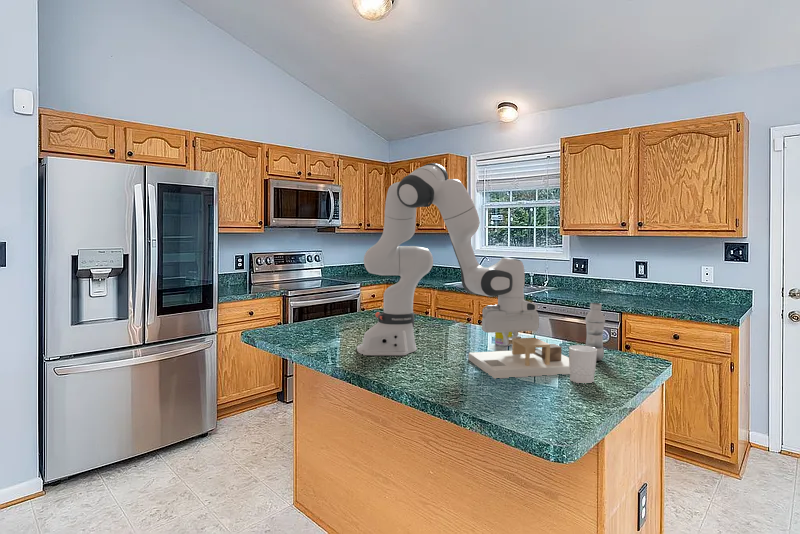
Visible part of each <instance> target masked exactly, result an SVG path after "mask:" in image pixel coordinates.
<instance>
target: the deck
mask: <svg viewBox="0 0 800 534" xmlns="http://www.w3.org/2000/svg"><path fill="white" fill-rule="evenodd" d="M550 344H551V343H548V342H545V341H543V340H541V339H538V338H536V337H521V338H513V339H512V345H511V350H497V351H496V350H495V351H478V352H468V361H469V362H471V363H472V364H474V365H475V366H476V367H478V368H479V369H480V370H482V371H483V372H484V373H486V374H487V373H488V374H487V375H489V376H490V377H491V376H492V379H494V380H496V378H500V379H510V378H509V377H515V378H529V377H528V376H531V377H543V376H542V375H547V376H557V374H562V375H570V371H569V356H566V355H564V354H562V353H561V361H550ZM542 347H546V352H545V359H543V358H542V357H541V356H539V355H537V354H535V348H537V349H539V350H541V351H542Z"/></svg>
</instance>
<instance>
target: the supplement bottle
mask: <svg viewBox="0 0 800 534" xmlns="http://www.w3.org/2000/svg"><path fill="white" fill-rule="evenodd" d="M494 333H495V334H494V337H495V339H494V341H495V345H497V346H500V347H509V346H512V344H510V345H506V344H505V338H504V336H503V334H502V332H494ZM512 335H513V334H512V332H509V334H508V335H507V336H508V338H509V339H511V337H512Z"/></svg>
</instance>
